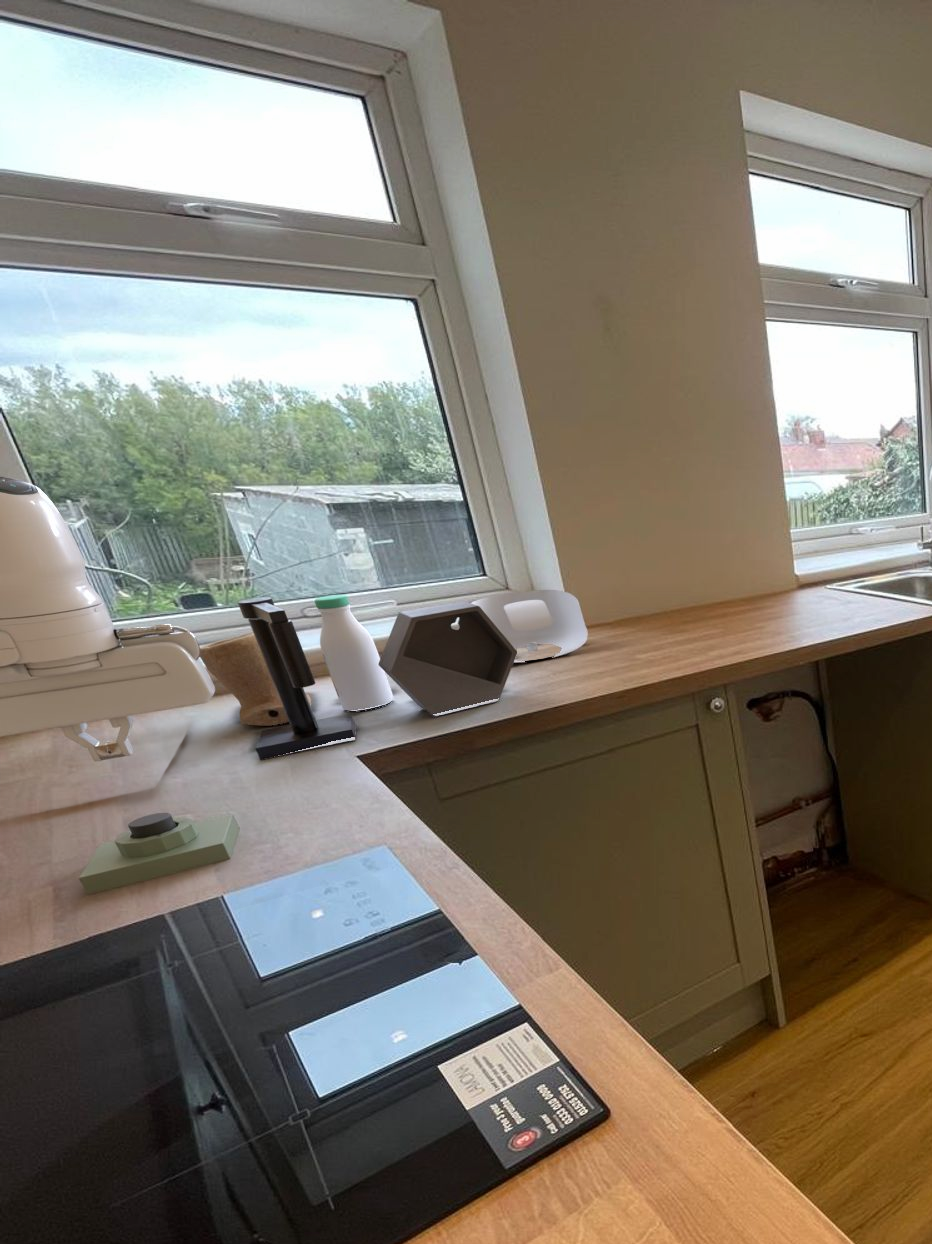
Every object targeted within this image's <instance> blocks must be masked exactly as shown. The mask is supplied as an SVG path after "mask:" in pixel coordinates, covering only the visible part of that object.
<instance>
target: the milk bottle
mask: <svg viewBox="0 0 932 1244" xmlns="http://www.w3.org/2000/svg"><path fill="white" fill-rule="evenodd" d="M314 604H315V606H316V609H317V612H318V613H319V614H320V616H321V630H320V636H319V646H320V650H321V653H322V656H323V660H324V662H325V665H326V668H327V671H328V674H329V676H330V679H331V682H332V685H333V688H334V690H335V692H336V695H337V698H338V700H339V703H340V706H341V708H342V709H343V710H344V709H345V710H358V709H365V708H370V707H375V706H378V705H382V704H385V703H388V702H390V701H392V700H393V701H394V694H393V691H392V689H391V686H390V682H389V680H388V677H387V673H386V672H385V671H384V670H383V669H382V668H381V667H380V666H379V665H378V664H379V661H380V658H381V656H380V654H379V652H378V649H377V647H376V644H375V641H374V638H372V636H371V635H370V633H369V631H368V630H367V629H366V628H365V627H364V626H363V625H362V624H361V623H360V622H359V621H358V620H357V618H356V617H355V616H354V615H353V613H352V611H351V605H350V600H349V598H348V596H347V595H345V594H333V595H326V596H321V597H317V598H315V599H314ZM345 710H344V711H345Z"/></svg>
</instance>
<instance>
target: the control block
mask: <svg viewBox="0 0 932 1244" xmlns="http://www.w3.org/2000/svg"><path fill="white" fill-rule="evenodd" d="M172 818H173V820H174V822H175V824H176V826H177V827H176V828H174V829H172V830H170V831H167V832H165V833H162V834H159V835H155V836H151V837H146V838H138V839H135V838H134V837H133V835H132V833H131V831H130V829H128V830H126V831H124V832H122V833H120V834H119V835H117V836H116V838H115V840H114V839H113V840H110V841H106V842H102V843H99V846H98V847H97V848H96V850H95V851H94V853H93V855H92V856H91V858H90V859H89V861H88V862H87V864H86V866H85V867H84V869H83V870H82V872H81V874H80V875H79V877H78V880H79V881H80V883H81V885H82V887H83V889H84V891H85V892H86V894H87V895H92V894H96V893H100V892H104V891H108V890H113V889H116V888H120V887H124V886H128V885H132V884H136V883H140V882H144V881H148V880H153V879H156V878H159V877H160V878H161V877H164V876H168V875H172V874H177V873H179V872H184V871H187V870H191V869H196V868H200V867H203V866H209V865H212V864H215V863H219V862H223V861H227V860H231V858H232V855H233V852H234V848H235V845H236V841H237V838H238V835H239V832H240V826H239V824H238V821H237V819H236V817H235V815H234V814H233V813H229V814H225V815H224V814H223V815H220V816H216V817H212V818H211V817H210V818H207V819H202V820H198V821H195V820H194V819H193V818H191V817H187V816H177V817H176V816H175V817H172Z"/></svg>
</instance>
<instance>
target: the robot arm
mask: <svg viewBox="0 0 932 1244" xmlns="http://www.w3.org/2000/svg"><path fill="white" fill-rule="evenodd" d="M87 577H88V576H87V574H86V562H85V559H84V556H83V555H82V552H81V550H80V548H79V546H78V543H77V541H76V540H75V538H74V536H73V534H72V532H71V529H70V528H69V526H68V525H67V523H66V521H65V518H64V517H63V516H62V514H61V513H60V511H59V510H58V508H57V507H56V505H55V504H54V502H53V501H52V500H51V499H50V498H49V497H48V495H46V493H45V492H43V490H41V488H40V487H37V486H36V485H34V484H32V483H29V482H27V481H25V480H22V479H17V478H12V477H6V476H0V738H1V737H6V736H7V737H8V736H13V735H20V734H24V733H26V734H27V733H31V732H37V731H43V730H50V729H56V728H61V730H62V732H63V734H64V736H65V737H66V738H67V739H69V740H71V741H73V742H74V743H76V744H78V745H80V746H82V747H83V748H85V749H87V750H88V752H89V754H90V756H91V758H92V760H93V761H94V762H96V763H97V762H102V761H107V760H111V759H120V758H124V757H129V756H132V755H133V754H134V748H133V746H132V744H131V742H130V740H129V737H130V734H131V732H132V728H133V725H134V723H135V719H134V717H133V716H137V715H142V714H143V715H144V714H148V713H154V712H155V713H156V712H161V711H169V710H173V709H180V708H185V707H193V706H198V705H204V704H207V703H209V702H210V700H211V699H212V698H213V696H214V695H215V692H216V687H215V684H214V682H213V680H212V678H211V676H210V674H209V673H208V670H207V668H206V667H205V665H204V663H202V660H201V659H200V654H201V649H200V647H201V646H200V644H199V642H198V639H197V637H196V636H195V635H194V633H193V632H191V631H190V630H189V629H186V628H184V627H181V626H173V625H172V623H161V624H155V625H153V626H152V625H151V626H143V627H142V626H137V627H127V628H120V629H119V628H118V629H116V627H115V625H114V623H113V621H112V619H111V617H110V614H109V612H108V610H107V608H106V605H105V603H104V600H103V599H102V597H101V596H100V595H99V593H98V592H96V590H95V589H94V588H93V587H92V585H91V584H90V582H89V579H88V578H87ZM175 631H178V632H175ZM105 720H106V721H107V720H108V721H109V722H110V725H111V727H112V728H113V729H117V728H119V731H118V735H117V738H114V739H110V740H102V741H99V740H98V739H96V738H94V737H93V736H92V735H90V734H88V733H87V732H86V730H87V728H89V727H88V723H93V722H100V721H105Z"/></svg>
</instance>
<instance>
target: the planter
mask: <svg viewBox="0 0 932 1244" xmlns="http://www.w3.org/2000/svg"><path fill="white" fill-rule="evenodd" d="M457 619H458V621H457ZM456 622H457V625H458V628H456V629H454V628H453V627H452V624H456ZM516 655H517V650H516V649H515V648H514V647H513V646H512V644H511V643H510V642H509V641H508V640H507V638H506V637H505V636H504V635H503V634H502V633H501V631H500V630H499V629H498V628H497V627H496V625H495V624H494V623H493V622H492V621H491V619H490V618H489V617H488V616H487V615H486V613H485V612H484V611H483V610H482V609H481V607H480V606H477V605H474V604H472V602H469V601H466V600H461V601H454V602H448V603H442V604H437V605H430V606H425V607H418V608H413V609H407V610H400V611H398V614H397V615H396V618H395V620H394V623H393V626H392V628H391V631H390V634H389V636H388V638H387V642H386V644H385V645H384V648H383V651H382V654H381V656H380V661H379V664H378V665H379V666H380V667H381V668H382V669H383V670H384V671H385V674H386V675H387V676H388V677H389V678H391V679H392V681H394V682H395V684H396V685H397V686H398V687H399V688H400V689H401V690H402V691H403V692H404V693H405V694H406V695H407V696H408V697H409V698H410V699H411V700H412V701H413V702H414V703H415V704H416V705H417V706H418V707H419V706H420V707H421V708H420V707H419V708H420V709H422V708H423V709H424V710H423V709H422V710H423V711H425V710H426V711H427V712H426V711H425V712H426V713H428V712H429V713H428V714H429V715H431V714H432V715H431V716H433V714H437V713H441V712H445V711H449V710H453V709H457V708H461V707H465V706H469V705H473V704H477V703H481V702H485V701H489V700H493V699H498V698H500V699H501V696H502V694H503V692H504V688H505V686H506V683H507V681H508V678H509V676H510V673H511V670H512V668H513V665H514V663H515V662H514V660H515V658H516Z"/></svg>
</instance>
